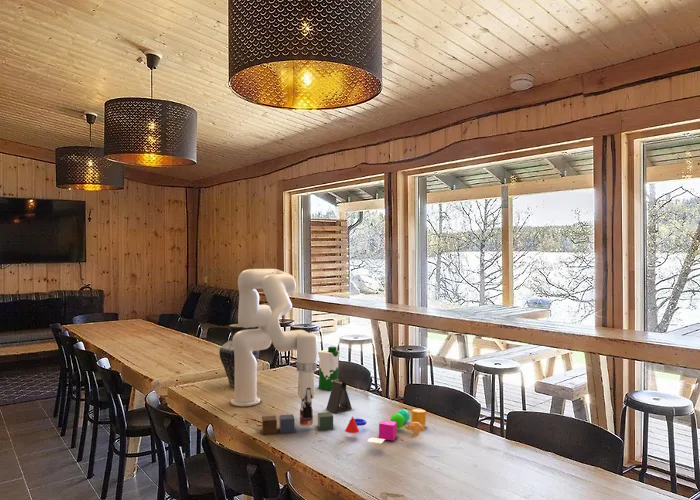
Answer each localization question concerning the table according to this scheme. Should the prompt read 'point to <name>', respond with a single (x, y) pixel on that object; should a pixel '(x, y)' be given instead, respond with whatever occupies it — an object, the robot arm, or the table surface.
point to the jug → (232, 354)
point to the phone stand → (338, 398)
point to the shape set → (392, 425)
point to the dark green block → (325, 421)
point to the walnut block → (269, 425)
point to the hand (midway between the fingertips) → (306, 414)
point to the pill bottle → (305, 421)
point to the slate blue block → (287, 423)
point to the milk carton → (328, 367)
